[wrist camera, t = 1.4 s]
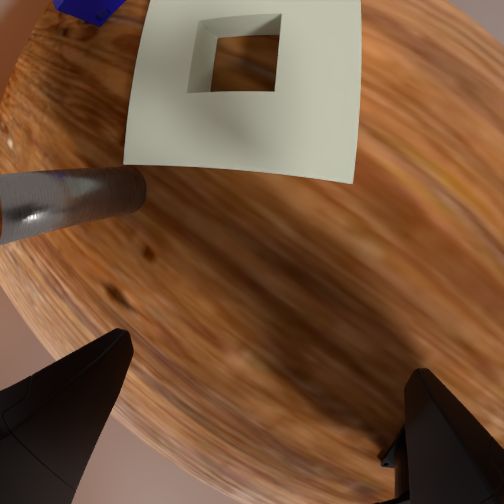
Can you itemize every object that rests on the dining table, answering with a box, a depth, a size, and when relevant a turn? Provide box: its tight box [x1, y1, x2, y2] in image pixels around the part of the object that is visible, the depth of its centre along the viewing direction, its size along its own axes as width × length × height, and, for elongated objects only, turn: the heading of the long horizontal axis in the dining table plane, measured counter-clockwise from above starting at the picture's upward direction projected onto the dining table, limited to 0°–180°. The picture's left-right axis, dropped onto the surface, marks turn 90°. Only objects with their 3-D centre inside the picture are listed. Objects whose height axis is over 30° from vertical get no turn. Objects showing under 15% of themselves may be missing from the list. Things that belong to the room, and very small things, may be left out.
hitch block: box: [123, 0, 361, 184], centre depth 15 cm, size 14×14×3 cm
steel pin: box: [0, 167, 146, 245], centre depth 15 cm, size 4×4×13 cm
